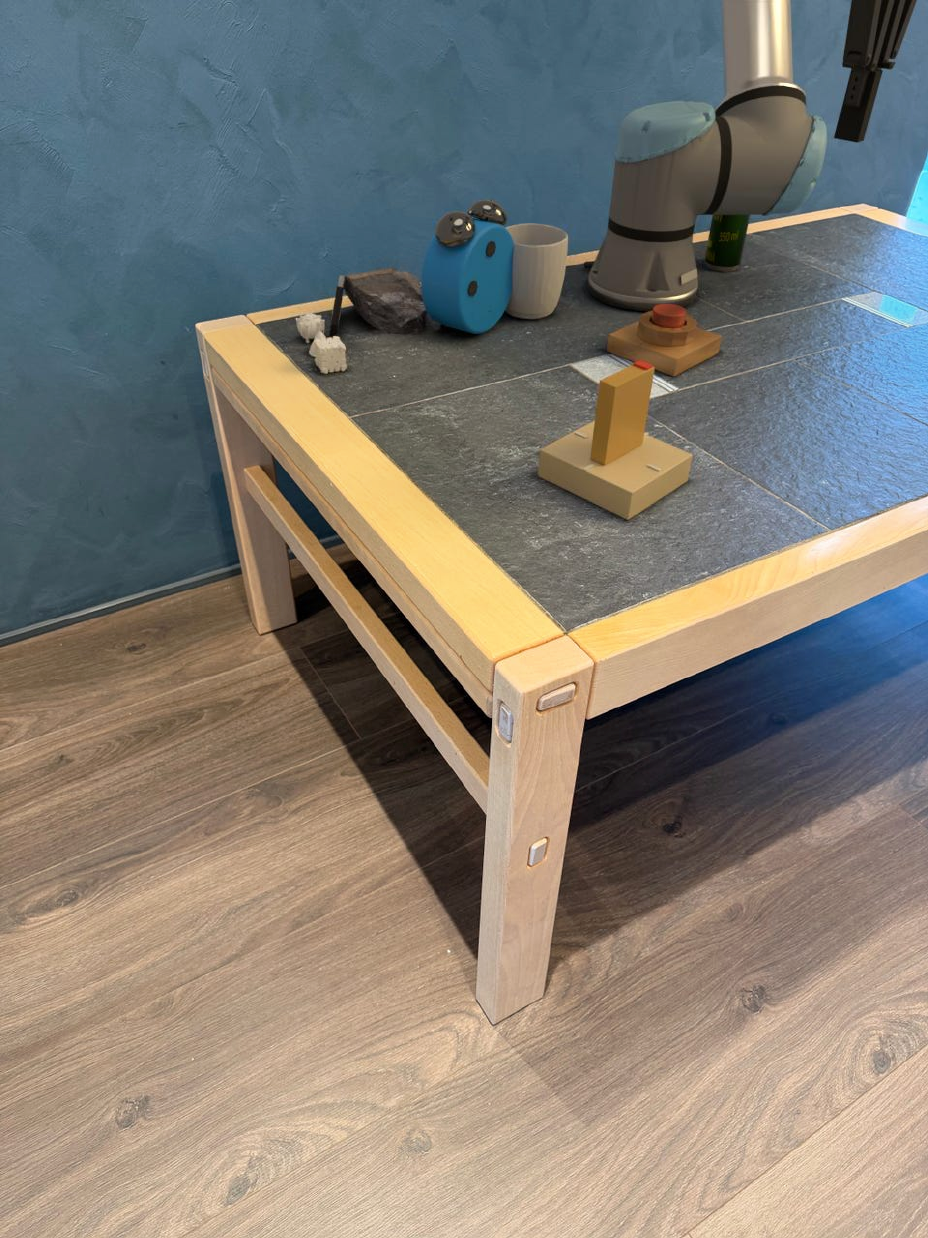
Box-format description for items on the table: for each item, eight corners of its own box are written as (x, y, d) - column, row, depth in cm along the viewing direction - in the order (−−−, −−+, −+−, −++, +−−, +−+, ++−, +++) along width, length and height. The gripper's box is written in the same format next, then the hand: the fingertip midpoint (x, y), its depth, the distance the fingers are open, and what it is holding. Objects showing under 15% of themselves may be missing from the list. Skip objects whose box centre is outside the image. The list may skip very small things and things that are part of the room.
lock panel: (536, 476, 89) (539, 448, 87) (599, 441, 95) (603, 413, 93) (627, 520, 84) (631, 491, 82) (688, 480, 89) (694, 452, 87)
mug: (572, 306, 124) (579, 230, 117) (544, 328, 118) (549, 250, 111) (491, 288, 128) (493, 214, 122) (459, 309, 122) (460, 233, 116)
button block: (606, 351, 113) (610, 319, 110) (652, 329, 118) (657, 299, 116) (673, 376, 107) (679, 344, 105) (718, 352, 113) (725, 321, 110)
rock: (326, 309, 120) (326, 267, 116) (391, 293, 126) (392, 254, 123) (399, 344, 112) (400, 301, 109) (463, 325, 119) (466, 284, 116)
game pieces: (348, 371, 107) (346, 345, 105) (321, 375, 106) (319, 349, 104) (321, 331, 116) (319, 307, 113) (295, 335, 115) (293, 310, 112)
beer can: (731, 259, 140) (748, 175, 132) (744, 271, 136) (763, 185, 128) (698, 260, 139) (713, 176, 132) (711, 272, 135) (727, 186, 128)
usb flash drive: (338, 326, 112) (330, 324, 112) (334, 354, 117) (326, 352, 117) (346, 274, 116) (338, 273, 116) (341, 303, 121) (334, 302, 120)
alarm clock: (479, 306, 123) (481, 188, 113) (517, 317, 120) (522, 197, 110) (420, 338, 115) (417, 214, 105) (459, 350, 112) (460, 224, 102)
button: (644, 323, 111) (646, 309, 109) (663, 314, 113) (665, 300, 112) (671, 332, 108) (674, 318, 107) (690, 324, 111) (693, 309, 110)
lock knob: (604, 465, 85) (615, 384, 80) (589, 458, 86) (599, 377, 81) (642, 444, 89) (655, 364, 83) (627, 437, 90) (639, 358, 84)
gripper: (935, -152, 76) (853, 155, 91) (993, -148, 83) (908, 136, 99) (852, -152, 80) (786, 142, 95) (914, -148, 87) (844, 124, 103)
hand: (848, 138), depth 97 cm, fingers closed
